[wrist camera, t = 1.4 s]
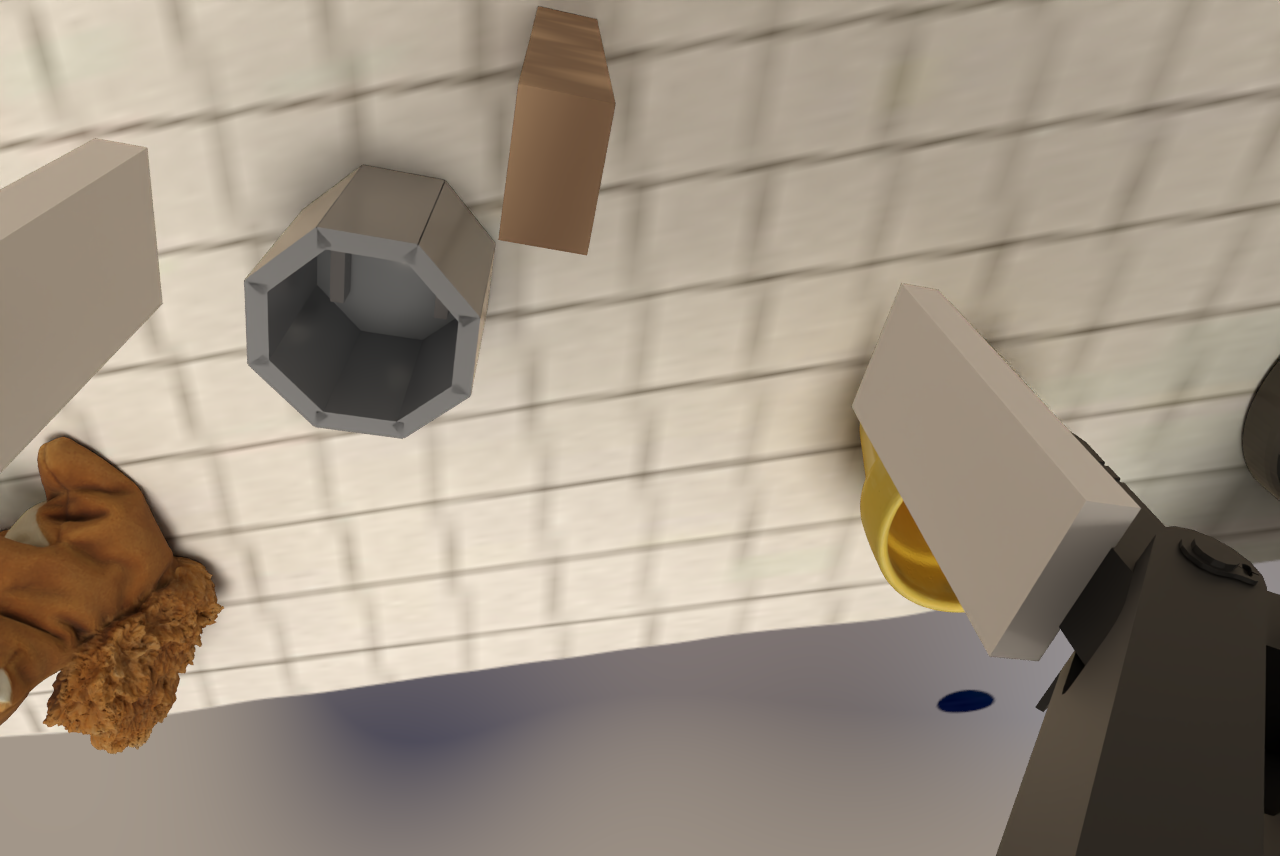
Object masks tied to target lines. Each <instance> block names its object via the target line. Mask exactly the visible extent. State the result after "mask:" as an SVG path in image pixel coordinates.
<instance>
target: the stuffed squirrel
mask: <svg viewBox="0 0 1280 856" xmlns="http://www.w3.org/2000/svg"><path fill="white" fill-rule="evenodd" d="M37 461H38V468H39V473H40V476H41V481H42V484H43V486H44V489H45V492H46V497H47V501H44V502H41V503H39V504H37V505H35V506H33V507H32V508H30V509H29V510H27V511H26V512H25V513H24V514H23V515H22V516H21V517H20V518H19V519H18V520H17V521H16V523H15V524H14V525H13V526H12V527H11V529H10V530H4V531H1V532H0V725H1V724H2V723H4V722H5V721H6V720H7V719H8V718H9V717H10V716H11V715H12V714H13V713H14V712H15V711H16V710H17V708H18V707H19V706H20V704H21V703H22V702H23V701H24V699H25V698H26V697H27V696H28V694H29V692H30V691H31V690H32V689H33V688H34V687H36V686H37V685H38V684H39V683H41V682H42V681H43V680H45V679H46V678H48V677H49V676H51V675H53V674H55V673H56V672H58V671H61V672H60V673H58V675H57V677H56V681H55V682H54V683H53V685H52V686H53V688H54V692H53V694H52V695H51V697H50V698H49V700H48V703H47V707H48V711H47V714H48V715H47V716H46V719H45V720H44V721H43V724H46V725H47V726H48V727H52V726H54V725H56V724H58V726H60V725H63V726H64V727H65V730H68V732H69V733H70V732H78V733H80V732H82V733H83V734H90V735H91V744H92V745H93V746H94V747H95V748H96V749H98V750H102V749H104V750H106V751H107V752H108V753H110V754H114V753H115V754H116V753H117V752H122V751H123V750H124V749H125V748H126V747H128V745H129V747H135V748H136V749H139V746H140V747H141V746H142V745H143V743H146V741H147V740H148V738H149V737H150V733H152V728H153V727H154V725H155V724H157V722H158V721H159V722H160V723H162V722H163V719H164V718H165V717H167V713H168V712H169V710H170V709H171V708H172V705H173V703H174V702H175V701H176V699H177V698H176V695H175V693H176V691H177V687H178V684H179V680H180V678H179V675H178V673H185V672H186V666H187V665H188V664H190V665H193V661H192V660H193V659H194V656H195V655H194V652H195V647H194V645H198V646H199V647H201V645H202V643H201V640H200V639H201V637H200V634H202V633H203V632H202V628H204V627H206V625H211V624H214V623H216V621H214V620H215V619H216V618H217V617H218V615H217V614H218V613H220V612H221V610H222V609H224V607H223V606H222V607H221V605H219V604H217V597H216V592H215V589H214V587H215V585H214V583H213V582H212V581H211V577H212V576H213V575H212V574H209V573H208V571H206V567H205V566H203V565H202V564H201V563H198V562H196V561H194V560H191V559H189V558H184V557H174V556H173V553H172V550H171V549H170V547H169V546H168V544H167V542H166V540H165V538H164V536H163V534H162V533H161V530H160V528H159V526H158V525H157V523H156V521H155V519H154V517H153V515H152V513H151V510H150V508H149V507H148V505H147V503H146V501H145V498H144V495H143V494H142V492H141V491H140V489H139V488H138V487H137V486H136V484H135V483H133V482H132V481H131V480H130V479H129V478H127V477H126V476H125V475H124V474H123V473H121V472H120V471H119V470H117V469H116V468H115V467H113V466H112V465H111V464H109V463H108V462H107V461H105V460H104V459H102V458H101V457H99V456H98V455H96V454H95V453H93V452H91V451H90V450H88V449H87V448H85V447H83V446H81V445H79V444H78V443H76V442H75V441H73V440H72V439H69V438H66V437H60V438H57V439H54V440H52V441H50V442H48V443H45V444H43V445H42V446H41V447H40V449H39V452H38V459H37Z"/></svg>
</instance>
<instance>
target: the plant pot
mask: <svg viewBox="0 0 1280 856" xmlns="http://www.w3.org/2000/svg"><path fill="white" fill-rule="evenodd" d="M860 440H861V446H862V452H863V460H864V468H865V476H866V479H865V482H864V485H863V489H862V494H861V501H860V512H861V520H862V524H863V527H864V530H865V533H866V536H867V539H868V542H869V544H870V547H871V549H872V552H873V554H874V556H875V558H876V561H877V563H878V565H879V567H880V570H881V571H882V573H883V575H884V577H885V578H886V580H887V581H888V583H889V584H890V585H891V586H892V587H893V588H894V589H895V590H896V591H897V592H898V593H899V594H901V595H902V596H903V597H905V598H907V599H908V600H910V601H912V602H914V603H916V604H918V605H921V606H923V607H926V608H930V609H934V610H938V611H945V612H965V611H964V609H963V608H962V606H961V604H960V602H959V600H958V599H957V597H956V595H955V593H954V591H953V590H952V588H951V586H950V584H949V582H948V580H947V579H946V577H945V575H944V573H943V571H942V570H941V568H940V566H939V564H938V562H937V561H936V559H935V557H934V555H933V553H932V552H931V550H930V548H929V546H928V544H927V542H926V541H925V539H924V537H923V535H922V533H921V532H920V530H919V528H918V526H917V524H916V523H915V521H914V519H913V517H912V515H911V514H910V512H909V510H908V508H907V506H906V505H905V503H904V501H903V499H902V497H901V495H900V494H899V492H898V490H897V488H896V486H895V485H894V483H893V481H892V479H891V477H890V476H889V474H888V472H887V470H886V468H885V467H884V465H883V463H882V461H881V459H880V457H879V456H878V454H877V452H876V450H875V448H874V447H873V445H872V443H871V441H870V439H869V438H868V436H867V434H866V432H865V430H864V429H863V427H862V425H861V423H860Z"/></svg>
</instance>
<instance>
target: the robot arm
mask: <svg viewBox="0 0 1280 856" xmlns="http://www.w3.org/2000/svg"><path fill="white" fill-rule="evenodd" d="M162 304H163V303H162V292H161V282H160V272H159V262H158V251H157V241H156V231H155V221H154V211H153V200H152V190H151V180H150V170H149V159H148V149H147V147H141V146H136V145H130V144H125V143H119V142H113V141H108V140H102V139H97V138H95V139H93V140H91V141H89V142H87V143H85V144H84V145H82V146H80V147H78V148H76V149H74V150H72V151H71V152H69V153H67V154H65V155H63V156H61V157H60V158H58V159H56V160H54V161H52V162H50V163H48V164H47V165H45V166H43V167H41V168H39V169H37V170H36V171H34V172H32V173H30V174H28V175H26V176H24V177H23V178H21V179H19V180H17V181H15V182H13V183H11V184H10V185H8V186H6V187H4V188H2V189H0V473H1V472H2V471H3V470H4V469H5V468H6V467H7V466H8V465H9V464H10V463H11V462H12V461H13V460H14V459H15V457H16V456H17V455H18V454H19V453H20V452H21V451H22V450H23V449H24V448H25V447H26V446H27V445H28V444H29V443H30V442H31V441H32V440H33V439H34V438H35V437H36V436H37V434H38V433H39V432H40V431H41V430H42V429H43V428H44V427H45V426H46V425H47V424H48V423H49V422H50V421H51V420H52V419H53V418H54V417H55V416H56V415H57V414H58V412H59V411H60V410H61V409H62V408H63V407H64V406H65V405H66V404H67V403H68V402H69V401H70V400H71V399H72V398H73V397H74V396H75V395H76V394H77V393H78V392H79V391H80V389H81V388H82V387H83V386H84V385H85V384H86V383H87V382H88V381H89V380H90V379H91V378H92V377H93V376H94V375H95V374H96V373H97V372H98V371H99V370H100V369H101V368H102V366H103V365H104V364H105V363H106V362H107V361H108V360H109V359H110V358H111V357H112V356H113V355H114V354H115V353H116V352H117V351H118V350H119V349H120V348H121V347H122V346H123V345H124V343H125V342H126V341H127V340H128V339H129V338H130V337H131V336H132V335H133V334H134V333H135V332H136V331H137V330H138V329H139V328H140V327H141V326H142V325H143V324H144V323H145V322H146V320H147V319H148V318H149V317H150V316H151V315H152V314H153V313H154V312H155V311H156V310H157V309H158V308H159V307H160V306H161V305H162ZM851 407H852V409H853V410H854V412H855V414H856V416H857V418H858V420H859V421H860V423H861V425H862V427H863V429H864V430H865V432H866V434H867V436H868V438H869V439H870V441H871V443H872V445H873V447H874V448H875V450H876V452H877V454H878V456H879V457H880V459H881V461H882V463H883V465H884V467H885V468H886V470H887V472H888V474H889V476H890V477H891V479H892V481H893V483H894V485H895V486H896V488H897V490H898V492H899V494H900V495H901V497H902V499H903V501H904V503H905V505H906V506H907V508H908V510H909V512H910V514H911V515H912V517H913V519H914V521H915V523H916V524H917V526H918V528H919V530H920V532H921V533H922V535H923V537H924V539H925V541H926V542H927V544H928V546H929V548H930V550H931V552H932V553H933V555H934V557H935V559H936V561H937V562H938V564H939V566H940V568H941V570H942V571H943V573H944V575H945V577H946V579H947V580H948V582H949V584H950V586H951V588H952V590H953V591H954V593H955V595H956V597H957V599H958V600H959V602H960V604H961V606H962V608H963V609H964V611H965V613H966V615H967V617H968V618H969V620H970V622H971V624H972V626H973V627H974V629H975V631H976V633H977V635H978V636H979V638H980V640H981V642H982V644H983V645H984V647H985V649H986V651H987V653H988V655H989V656H990V657H999V658H1011V659H1020V660H1031V661H1039V660H1040V658H1041V657H1042V656H1043V654H1044V653H1045V651H1046V649H1047V648H1048V647H1049V645H1050V644H1051V642H1052V641H1053V639H1054V638H1055V636H1056V635H1057V633H1058V632H1059V630H1060V629H1061V631H1062V632H1063V633H1064V635H1065V636H1066V638H1067V639H1068V641H1069V643H1070V644H1071V645H1072V647H1073V648H1074V650H1075V651H1074V652H1073V654H1072V655H1071V657H1070V658H1069V660H1068V661H1067V662H1066V664H1065V665H1064V667H1063V668H1062V670H1061V671H1060V673H1059V674H1058V675H1057V677H1056V678H1055V680H1054V681H1053V683H1052V684H1051V686H1050V687H1049V688H1048V690H1047V691H1046V693H1045V694H1044V696H1043V697H1042V698H1041V700H1040V701H1039V703H1038V704H1037V706H1036V708H1037V709H1039V710H1041V711H1043V712H1044V711H1045V710H1046V709H1047V708H1048V709H1047V712H1046V714H1045V717H1044V720H1043V723H1042V726H1041V729H1040V732H1039V734H1038V738H1037V740H1036V743H1035V746H1034V748H1033V751H1032V754H1031V757H1030V760H1029V763H1028V766H1027V768H1026V771H1025V774H1024V777H1023V780H1022V783H1021V786H1020V788H1019V792H1018V794H1017V797H1016V800H1015V803H1014V805H1013V808H1012V811H1011V814H1010V817H1009V820H1008V823H1007V825H1006V829H1005V831H1004V834H1003V837H1002V840H1001V843H1000V845H999V849H998V851H997V854H996V856H1280V595H1278V594H1275V593H1272V592H1269V591H1267V587H1266V584H1265V581H1264V578H1263V576H1262V575H1261V574H1260V573H1259V571H1258V570H1257V569H1256V568H1255V567H1254V566H1253V565H1252V563H1251V562H1249V561H1248V560H1247V559H1245V558H1244V557H1243V556H1241V555H1240V554H1239V553H1237V552H1236V551H1235V550H1234V549H1232V548H1230V547H1228V546H1227V545H1225V544H1223V543H1221V542H1220V541H1218V540H1216V539H1214V538H1212V537H1209V536H1207V535H1204V534H1202V533H1199V532H1197V531H1194V530H1190V529H1185V528H1180V527H1175V526H1173V527H1165V526H1164V525H1163V524H1162V523H1161V522H1160V520H1159V519H1158V518H1157V517H1156V516H1155V515H1154V514H1153V513H1152V512H1151V511H1150V510H1149V509H1148V508H1147V507H1146V506H1145V504H1144V503H1143V502H1142V501H1141V500H1140V499H1139V498H1138V497H1137V496H1136V495H1135V494H1134V493H1133V492H1132V491H1131V490H1130V488H1129V487H1128V486H1127V485H1126V484H1125V483H1122V482H1120V478H1119V477H1118V476H1117V475H1116V474H1115V473H1114V471H1113V470H1112V469H1111V468H1110V467H1109V466H1104V463H1105V462H1104V461H1103V460H1102V459H1101V458H1100V457H1099V455H1098V454H1097V453H1096V452H1095V451H1094V450H1093V449H1092V448H1091V447H1090V446H1089V445H1088V444H1087V443H1086V442H1085V441H1084V440H1082V439H1081V438H1079V437H1078V436H1076V435H1075V434H1074V433H1072V432H1071V431H1069V430H1068V429H1067V428H1066V427H1065V426H1064V425H1063V424H1062V422H1061V421H1060V420H1059V419H1058V418H1057V417H1056V416H1055V415H1054V414H1053V413H1052V412H1051V411H1050V410H1049V408H1048V407H1047V406H1046V405H1045V404H1044V403H1043V402H1042V401H1041V400H1040V399H1039V398H1038V397H1037V396H1036V394H1035V393H1034V392H1033V391H1032V390H1031V389H1030V388H1029V387H1028V386H1027V385H1026V384H1025V383H1024V381H1023V380H1022V379H1021V378H1020V377H1019V376H1018V375H1017V374H1016V373H1015V372H1014V371H1013V370H1012V369H1011V367H1010V366H1009V365H1008V364H1007V363H1006V362H1005V361H1004V360H1003V359H1002V358H1001V357H1000V356H999V355H998V353H997V352H996V351H995V350H994V349H993V348H992V347H991V346H990V345H989V344H988V343H987V342H986V341H985V339H984V338H983V337H982V336H981V335H980V334H979V333H978V332H977V331H976V330H975V329H974V328H973V327H972V325H971V324H970V323H969V322H968V321H967V320H966V319H965V318H964V317H963V316H962V315H961V314H960V313H959V311H958V310H957V309H956V308H955V307H954V306H953V305H952V304H951V303H950V302H949V301H948V300H947V298H946V297H945V296H944V295H943V294H942V293H941V292H940V291H939V290H937V289H931V288H926V287H920V286H915V285H909V284H904V283H901V285H900V288H899V290H898V292H897V295H896V297H895V300H894V302H893V305H892V307H891V310H890V312H889V315H888V317H887V320H886V322H885V325H884V327H883V330H882V332H881V334H880V337H879V339H878V342H877V344H876V347H875V349H874V352H873V354H872V357H871V359H870V362H869V364H868V367H867V369H866V372H865V374H864V377H863V379H862V381H861V384H860V386H859V389H858V391H857V394H856V396H855V399H854V401H853V404H852V406H851ZM1243 452H1244V458H1245V461H1246V464H1247V466H1248V469H1249V471H1250V472H1251V474H1252V475H1253V477H1254V478H1255V479H1256V480H1257V481H1258V483H1259V484H1261V485H1262V486H1263V487H1264V488H1265V489H1266V490H1268V491H1269V492H1270V493H1271V494H1272V495H1273V496H1275V497H1276V498H1277V499H1278V500H1279V501H1280V360H1279V362H1278V363H1277V364H1276V365H1275V366H1274V368H1273V369H1272V370H1271V372H1270V373H1269V375H1268V376H1267V377H1266V379H1265V380H1264V382H1263V384H1262V385H1261V387H1260V389H1259V390H1258V392H1257V394H1256V396H1255V398H1254V400H1253V402H1252V405H1251V407H1250V409H1249V412H1248V415H1247V418H1246V422H1245V427H1244V433H1243Z"/></svg>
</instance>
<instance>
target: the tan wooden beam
mask: <svg viewBox="0 0 1280 856" xmlns="http://www.w3.org/2000/svg"><path fill="white" fill-rule="evenodd" d="M614 109H615V99H614V95H613V90H612V86H611V81H610V77H609V72H608V67H607V63H606V58H605V54H604V49H603V45H602V40H601V36H600V31H599V27H598V22H597V19H593V18H589V17H584V16H580V15H575V14H571V13H567V12H562V11H558V10H553V9H549V8H544V7H540V6H538V9H537V13H536V17H535V21H534V25H533V28H532V32H531V36H530V40H529V44H528V48H527V52H526V56H525V60H524V64H523V67H522V71H521V75H520V79H519V83H518V90H517V98H516V106H515V114H514V122H513V130H512V137H511V145H510V153H509V161H508V169H507V177H506V185H505V192H504V200H503V208H502V216H501V224H500V232H499V239H498V240H502V241H508V242H514V243H519V244H525V245H531V246H537V247H542V248H548V249H554V250H559V251H565V252H571V253H576V254H582V255H587V253H588V248H589V243H590V237H591V232H592V227H593V221H594V216H595V211H596V205H597V200H598V195H599V189H600V184H601V179H602V173H603V168H604V163H605V157H606V152H607V147H608V141H609V136H610V131H611V125H612V120H613V115H614Z"/></svg>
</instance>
